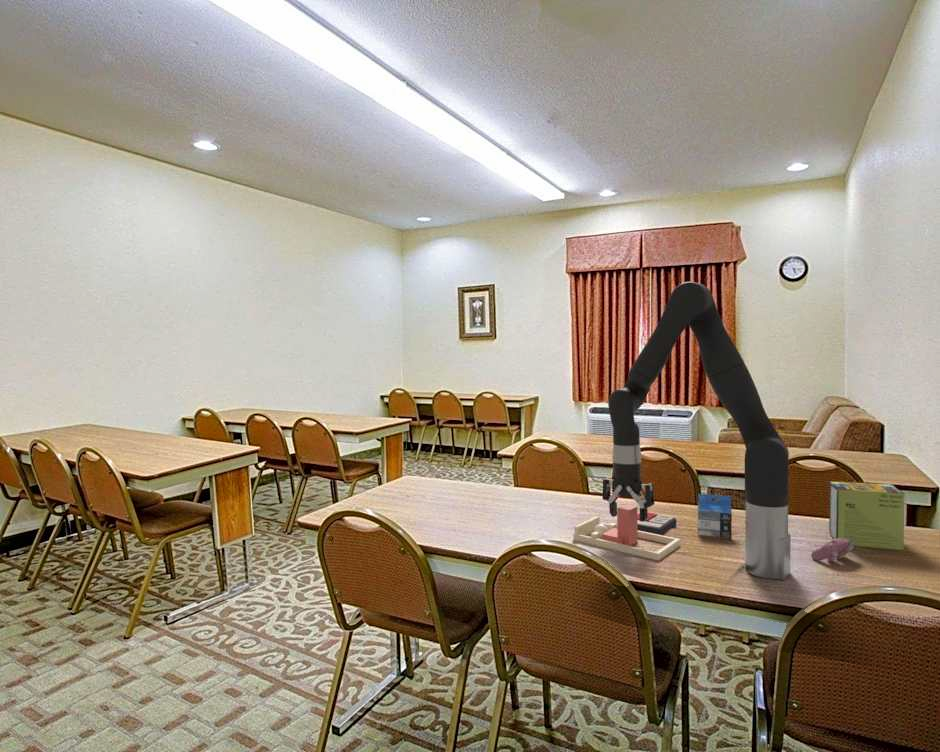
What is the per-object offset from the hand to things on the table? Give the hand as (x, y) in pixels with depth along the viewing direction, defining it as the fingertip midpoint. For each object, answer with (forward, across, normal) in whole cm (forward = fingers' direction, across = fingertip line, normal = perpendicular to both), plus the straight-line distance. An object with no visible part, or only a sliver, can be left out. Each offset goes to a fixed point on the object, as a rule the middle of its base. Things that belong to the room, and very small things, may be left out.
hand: (628, 518), depth 158 cm
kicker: (+7, +2, 0) cm, 7 cm away
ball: (+5, +8, 0) cm, 10 cm away
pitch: (+8, +1, 0) cm, 8 cm away
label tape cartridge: (+9, -16, -22) cm, 28 cm away
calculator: (+9, +2, -18) cm, 20 cm away
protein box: (+9, -48, -45) cm, 67 cm away
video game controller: (+9, -44, -24) cm, 51 cm away
